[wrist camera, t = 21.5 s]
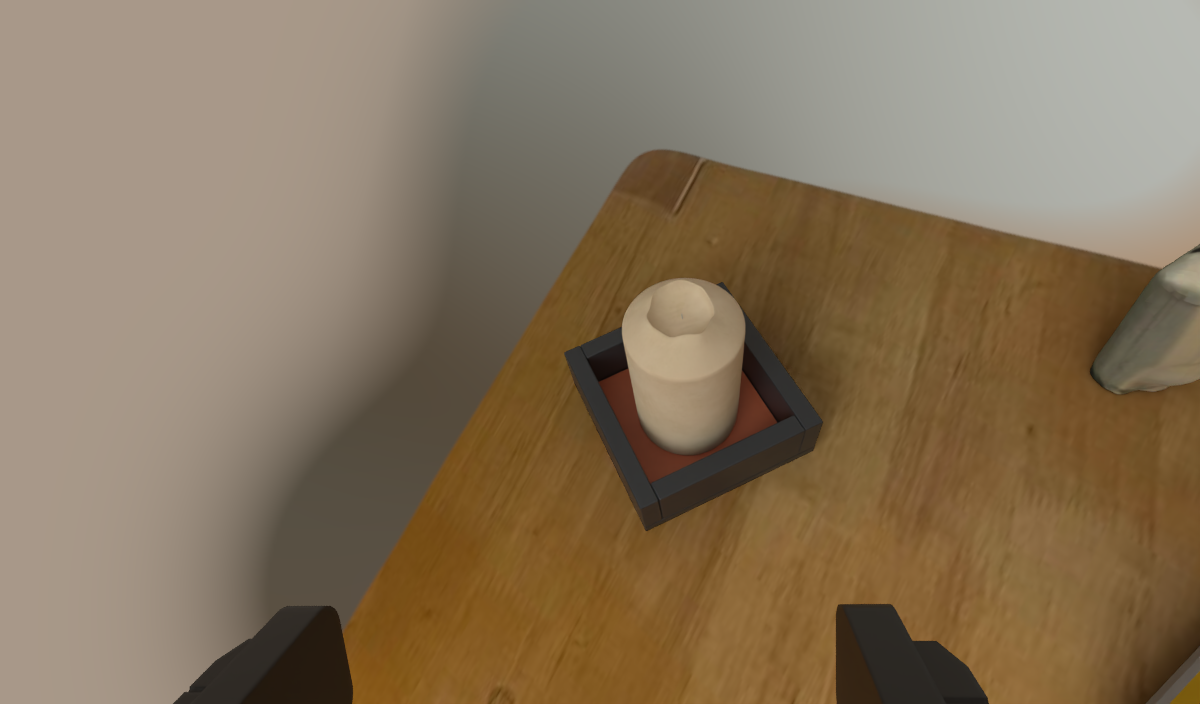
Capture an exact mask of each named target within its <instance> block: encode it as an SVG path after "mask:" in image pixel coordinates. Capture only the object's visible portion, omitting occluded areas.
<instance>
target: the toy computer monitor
mask: <svg viewBox="0 0 1200 704" xmlns="http://www.w3.org/2000/svg"><path fill="white" fill-rule="evenodd" d="M1146 704H1200V646H1199V647H1198V648H1197V649H1196V651H1195V652H1194V653H1193V654H1192V655H1191V656H1190V657H1189V658H1188V659H1187V660H1186V661H1185V662H1184V663H1183V664H1182V665H1181V667H1180V668H1179V669H1178V670H1177V671H1176V672H1175V673H1174V674H1173V675H1172V676H1171V677H1170V678H1169V679H1168V680H1167V681H1166V682H1165V684H1164V685H1163V686H1162V687H1161V688H1160V689H1159V690H1158V691H1157V692H1156V693H1155V694H1154V695H1153V696H1152V697H1151V698H1150V700H1149V701H1148V702H1147V703H1146Z"/></svg>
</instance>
